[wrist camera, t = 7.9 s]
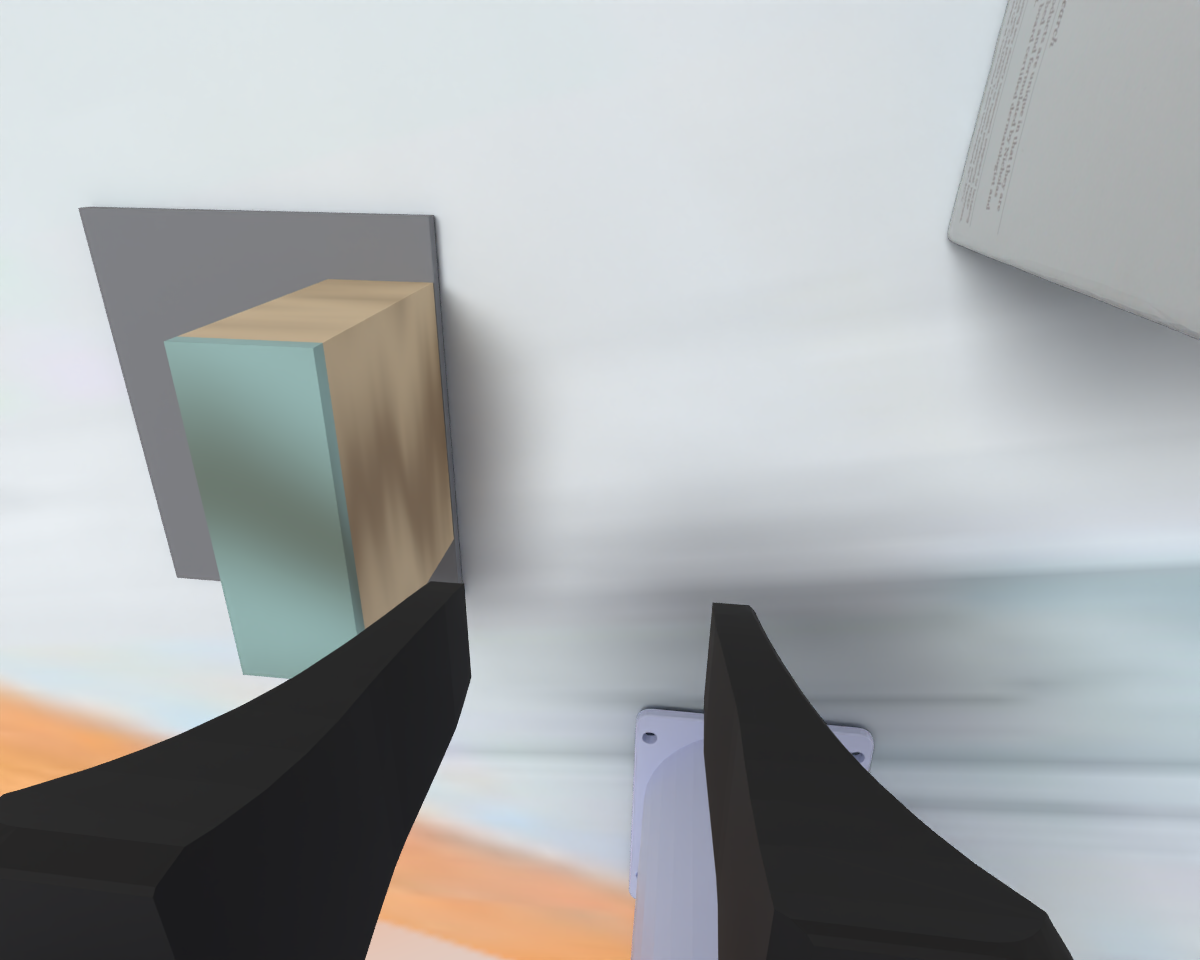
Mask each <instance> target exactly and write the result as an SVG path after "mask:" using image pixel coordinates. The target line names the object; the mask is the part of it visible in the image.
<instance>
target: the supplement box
mask: <svg viewBox="0 0 1200 960" xmlns="http://www.w3.org/2000/svg"><path fill="white" fill-rule="evenodd" d="M948 238H949V240H950V241H952V242H954V243H956V244H958V245H960V246H963V247H965V248H968V249H970V250H972V251H975V252H977V253H980V254H982V255H985V256H987V257H989V258H993V259H995V260H997V261H1000V262H1003V263H1006V264H1008V265H1011V266H1013V267H1016V268H1018V269H1021V270H1023V271H1026V272H1028V273H1030V274H1033V275H1035V276H1038V277H1040V278H1043V279H1045V280H1048V281H1050V282H1053V283H1056V284H1058V285H1061V286H1063V287H1066V288H1068V289H1071V290H1074V291H1076V292H1079V293H1082V294H1084V295H1087V296H1090V297H1092V298H1095V299H1097V300H1100V301H1102V302H1105V303H1107V304H1110V305H1112V306H1115V307H1117V308H1120V309H1123V310H1125V311H1128V312H1130V313H1133V314H1135V315H1138V316H1141V317H1143V318H1146V319H1148V320H1151V321H1153V322H1156V323H1158V324H1161V325H1164V326H1166V327H1168V328H1171V329H1173V330H1176V331H1178V332H1181V333H1183V334H1186V335H1188V336H1191V337H1193V338H1196V339H1198V340H1200V0H1008V4H1007V8H1006V13H1005V16H1004V20H1003V23H1002V26H1001V30H1000V33H999V37H998V41H997V45H996V49H995V53H994V57H993V61H992V65H991V69H990V72H989V76H988V80H987V83H986V87H985V90H984V94H983V98H982V102H981V106H980V110H979V114H978V117H977V121H976V125H975V129H974V133H973V137H972V140H971V144H970V147H969V151H968V155H967V159H966V163H965V167H964V172H963V176H962V180H961V183H960V186H959V189H958V193H957V197H956V201H955V206H954V210H953V214H952V218H951V222H950V225H949V230H948Z"/></svg>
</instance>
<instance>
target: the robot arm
mask: <svg viewBox="0 0 1200 960" xmlns="http://www.w3.org/2000/svg"><path fill="white" fill-rule="evenodd" d="M470 680H471V667H470V654H469V641H468V628H467V615H466V602H465V589H464V584H462V583H449V582H436V581H430V582H429V583H427V584H426V585H424V586H423V587H421V588H420V589H419V590H417V591H416V592H414V593H413V594H412V595H410V596H409V597H408V598H406V599H405V600H404V601H402V602H401V603H400V604H398V605H397V606H396V607H394V608H393V609H392V610H390V611H389V612H388V613H387V614H385V615H384V616H382V617H381V618H380V619H378V620H377V621H376V622H374V623H373V624H371V625H370V626H369V627H367V628H366V629H365V630H363V631H362V632H361V633H359V634H358V635H356V636H355V637H354V638H352V639H351V640H349V641H348V642H346V643H345V644H343V645H342V646H340V647H339V648H337V649H336V650H334V651H333V652H331V653H330V654H328V655H327V656H325V657H324V658H322V659H321V660H319V661H318V662H316V663H315V664H313V665H312V666H310V667H309V668H307V669H306V670H304V671H302V672H301V673H299V674H297V675H296V676H294V677H293V678H291V679H289V680H287V681H286V682H284V683H282V684H281V685H279V686H277V687H275V688H273V689H272V690H270V691H268V692H266V693H264V694H262V695H261V696H259V697H257V698H255V699H253V700H251V701H249V702H248V703H246V704H244V705H242V706H240V707H238V708H236V709H234V710H231V711H229V712H227V713H225V714H223V715H221V716H218V717H216V718H214V719H212V720H210V721H208V722H205V723H203V724H201V725H199V726H197V727H195V728H192V729H190V730H188V731H186V732H184V733H182V734H179V735H177V736H175V737H172V738H170V739H167V740H165V741H162V742H160V743H157V744H155V745H152V746H150V747H147V748H145V749H142V750H139V751H137V752H134V753H131V754H129V755H126V756H123V757H120V758H118V759H115V760H112V761H109V762H107V763H104V764H101V765H98V766H95V767H92V768H89V769H86V770H83V771H80V772H76V773H73V774H70V775H67V776H63V777H60V778H57V779H54V780H50V781H47V782H44V783H41V784H37V785H34V786H31V787H27V788H24V789H21V790H17V791H14V792H10V793H6V794H3V795H2V796H1V797H0V960H365V958H366V954H367V951H368V948H369V945H370V942H371V938H372V935H373V932H374V929H375V926H376V923H377V920H378V917H379V914H380V911H381V908H382V905H383V902H384V899H385V896H386V893H387V890H388V887H389V884H390V881H391V878H392V875H393V872H394V869H395V866H396V864H397V861H398V859H399V856H400V854H401V851H402V849H403V846H404V844H405V841H406V839H407V837H408V835H409V832H410V830H411V828H412V826H413V824H414V821H415V819H416V817H417V815H418V812H419V810H420V808H421V806H422V804H423V801H424V799H425V797H426V795H427V793H428V790H429V788H430V786H431V784H432V781H433V779H434V777H435V775H436V773H437V770H438V768H439V766H440V764H441V761H442V759H443V757H444V755H445V752H446V750H447V748H448V746H449V743H450V741H451V739H452V736H453V734H454V732H455V729H456V727H457V724H458V720H459V717H460V714H461V711H462V708H463V704H464V701H465V697H466V694H467V690H468V687H469V683H470ZM647 732H651V733H654V734H655V735H652V736H649V735H646V734H645V733H647ZM873 750H874V741H873V738H872V735H871V734H870V732H868V731H867V730H865V729H862V728H856V727H845V726H834V725H826V723H825V722H824V721H823V719H822V718H821V717H820V715H819V714H818V713H817V712H816V710H815V709H814V708H813V706H812V705H811V704H810V702H809V701H808V699H807V698H806V697H805V695H804V694H803V692H802V691H801V690H800V688H799V687H798V685H797V684H796V682H795V681H794V679H793V678H792V676H791V675H790V673H789V672H788V670H787V669H786V667H785V666H784V664H783V662H782V661H781V659H780V657H779V656H778V654H777V652H776V651H775V649H774V647H773V646H772V644H771V642H770V640H769V639H768V637H767V635H766V633H765V631H764V629H763V627H762V626H761V623H760V621H759V619H758V617H757V615H756V613H755V611H754V610H753V609H752V608H751V607H750V606H749V605H737V604H724V603H713V606H712V617H711V628H710V639H709V650H708V661H707V672H706V683H705V695H704V714H703V713H692V712H681V711H670V710H660V709H645V710H642V711H641V712H640V713H639V714H638V715H637V719H636V734H635V758H634V782H633V806H632V830H631V855H630V879H629V892H630V895H631V896H632V897H633V898H635V899H636V901H635V914H634V926H633V938H632V951H631V960H1073V958H1072V956H1071V954H1070V952H1069V950H1068V949H1067V947H1066V946H1065V944H1064V942H1063V941H1062V939H1061V937H1060V936H1059V934H1058V932H1057V931H1056V929H1055V927H1054V926H1053V924H1052V922H1051V920H1050V919H1049V917H1048V915H1047V913H1046V912H1045V911H1043V910H1042V909H1040V908H1039V907H1037V906H1036V905H1034V904H1033V903H1032V902H1030V901H1029V900H1027V899H1026V898H1024V897H1023V896H1021V895H1020V894H1018V893H1017V892H1015V891H1014V890H1013V889H1011V888H1010V887H1008V886H1007V885H1005V884H1004V883H1002V882H1001V881H999V880H998V879H996V878H995V877H994V876H992V875H991V874H989V873H988V872H986V871H985V870H983V869H982V868H980V867H979V866H978V865H976V864H975V863H973V862H972V861H971V860H969V859H968V858H967V857H966V856H964V855H963V854H962V853H960V852H959V851H958V850H957V849H955V848H954V847H953V846H951V845H950V844H949V843H948V842H946V841H945V840H944V839H943V838H941V837H940V836H939V835H937V834H936V833H935V832H934V831H932V830H931V829H930V828H929V827H928V826H927V825H925V824H924V823H923V822H922V821H921V820H919V819H918V818H917V817H916V816H915V815H914V814H912V813H911V812H910V811H909V810H908V809H907V808H906V807H905V806H904V805H903V804H902V803H900V802H899V801H898V800H897V799H896V798H895V797H894V796H893V795H892V794H891V793H889V792H888V791H887V790H886V789H885V788H884V787H883V786H882V785H881V784H880V783H879V782H878V781H877V780H876V779H875V778H874V777H873V776H872V775H871V774H870V773H869V768H870V763H871V759H872V754H873ZM853 752H860V753H859V754H858V755H852V753H853Z"/></svg>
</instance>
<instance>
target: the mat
mask: <svg viewBox="0 0 1200 960" xmlns="http://www.w3.org/2000/svg"><path fill="white" fill-rule="evenodd" d="M79 212H80V216H81V220H82V223H83V227H84V231H85V235H86V238H87V242H88V246H89V249H90V253H91V257H92V261H93V264H94V268H95V272H96V276H97V279H98V283H99V287H100V291H101V294H102V298H103V302H104V306H105V309H106V313H107V317H108V321H109V324H110V328H111V332H112V336H113V339H114V343H115V347H116V351H117V354H118V358H119V362H120V365H121V369H122V373H123V377H124V380H125V384H126V388H127V392H128V395H129V399H130V403H131V407H132V410H133V414H134V418H135V422H136V425H137V429H138V433H139V437H140V440H141V444H142V448H143V452H144V455H145V459H146V463H147V467H148V470H149V474H150V478H151V481H152V485H153V489H154V493H155V496H156V500H157V504H158V508H159V511H160V515H161V519H162V523H163V526H164V530H165V534H166V538H167V541H168V545H169V549H170V553H171V556H172V560H173V564H174V568H175V571H176V575H177V578H189V579H201V580H214V581H221V580H220V575H219V571H218V567H217V563H216V559H215V554H214V550H213V546H212V542H211V538H210V533H209V529H208V525H207V521H206V517H205V512H204V508H203V504H202V500H201V496H200V492H199V487H198V483H197V479H196V475H195V471H194V466H193V462H192V458H191V454H190V450H189V445H188V441H187V437H186V433H185V429H184V424H183V420H182V416H181V412H180V408H179V403H178V399H177V395H176V391H175V387H174V383H173V378H172V374H171V370H170V366H169V362H168V357H167V353H166V349H165V345H164V341H166V340H169V339H172V338H174V337H177V336H180V335H182V334H185V333H187V332H190V331H193V330H195V329H198V328H201V327H203V326H206V325H209V324H211V323H214V322H216V321H219V320H222V319H224V318H227V317H230V316H232V315H235V314H237V313H240V312H243V311H245V310H248V309H251V308H253V307H256V306H258V305H261V304H264V303H266V302H269V301H272V300H274V299H277V298H280V297H282V296H285V295H287V294H290V293H293V292H295V291H298V290H301V289H303V288H306V287H308V286H311V285H314V284H316V283H319V282H322V281H324V280H327V279H339V280H369V281H398V282H428V283H433V289H434V301H435V313H436V326H437V338H438V350H439V363H440V375H441V387H442V399H443V412H444V424H445V436H446V449H447V461H448V473H449V486H450V498H451V510H452V523H453V535H454V540H453V541H452V543H451V545H450V546H449V548H448V550H447V551H446V553H445V555H444V556H443V558H442V560H441V561H440V563H439V564H438V566H437V568H436V569H435V571H434V573H433V574H432V576H431V578H430V579H429V581H428V583H429V582H430V581H436V582H449V583H462V573H461V561H460V548H459V535H458V522H457V509H456V497H455V484H454V471H453V458H452V445H451V433H450V420H449V407H448V394H447V382H446V369H445V356H444V343H443V330H442V318H441V305H440V292H439V279H438V266H437V254H436V241H435V228H434V215H407V214H366V213H324V212H283V211H241V210H200V209H158V208H117V207H83V208H79Z"/></svg>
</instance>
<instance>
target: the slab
mask: <svg viewBox="0 0 1200 960" xmlns="http://www.w3.org/2000/svg"><path fill="white" fill-rule="evenodd" d="M164 345H165V349H166V353H167V357H168V362H169V366H170V370H171V374H172V378H173V383H174V387H175V391H176V395H177V399H178V403H179V408H180V412H181V416H182V420H183V424H184V429H185V433H186V437H187V441H188V445H189V450H190V454H191V458H192V462H193V466H194V471H195V475H196V479H197V483H198V487H199V492H200V496H201V500H202V504H203V508H204V512H205V517H206V521H207V525H208V529H209V533H210V538H211V542H212V546H213V550H214V554H215V559H216V563H217V567H218V571H219V575H220V580H221V584H222V588H223V592H224V596H225V600H226V605H227V609H228V613H229V617H230V621H231V626H232V630H233V634H234V638H235V642H236V647H237V651H238V655H239V659H240V663H241V668H242V672H243V675H254V676H264V677H275V678H286V679H291V678H293V677H294V676H296V675H297V674H299V673H301V672H302V671H304V670H306V669H307V668H309V667H310V666H312V665H313V664H315V663H316V662H318V661H319V660H321V659H322V658H324V657H325V656H327V655H328V654H330V653H331V652H333V651H334V650H336V649H337V648H339V647H340V646H342V645H343V644H345V643H346V642H348V641H349V640H351V639H352V638H354V637H355V636H356V635H358V634H359V633H361V632H362V631H363V630H365V629H366V628H367V627H369V626H370V625H371V624H373V623H374V622H376V621H377V620H378V619H380V618H381V617H382V616H384V615H385V614H387V613H388V612H389V611H390V610H392V609H393V608H394V607H396V606H397V605H398V604H400V603H401V602H402V601H404V600H405V599H406V598H408V597H409V596H410V595H412V594H413V593H414V592H416V591H417V590H419V589H420V588H421V587H423V586H424V585H426V584H427V583H428V581H429V579H430V578H431V576H432V574H433V573H434V571H435V569H436V568H437V566H438V564H439V563H440V561H441V560H442V558H443V556H444V555H445V553H446V551H447V550H448V548H449V546H450V545H451V543H452V541H453V540H454V535H453V523H452V510H451V498H450V486H449V473H448V461H447V449H446V436H445V424H444V412H443V399H442V387H441V375H440V363H439V350H438V338H437V326H436V313H435V301H434V289H433V283H428V282H398V281H369V280H339V279H327V280H324V281H322V282H319V283H316V284H314V285H311V286H308V287H306V288H303V289H301V290H298V291H295V292H293V293H290V294H287V295H285V296H282V297H280V298H277V299H274V300H272V301H269V302H266V303H264V304H261V305H258V306H256V307H253V308H251V309H248V310H245V311H243V312H240V313H237V314H235V315H232V316H230V317H227V318H224V319H222V320H219V321H216V322H214V323H211V324H209V325H206V326H203V327H201V328H198V329H195V330H193V331H190V332H187V333H185V334H182V335H180V336H177V337H174V338H172V339H169V340H166V341H164Z"/></svg>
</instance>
